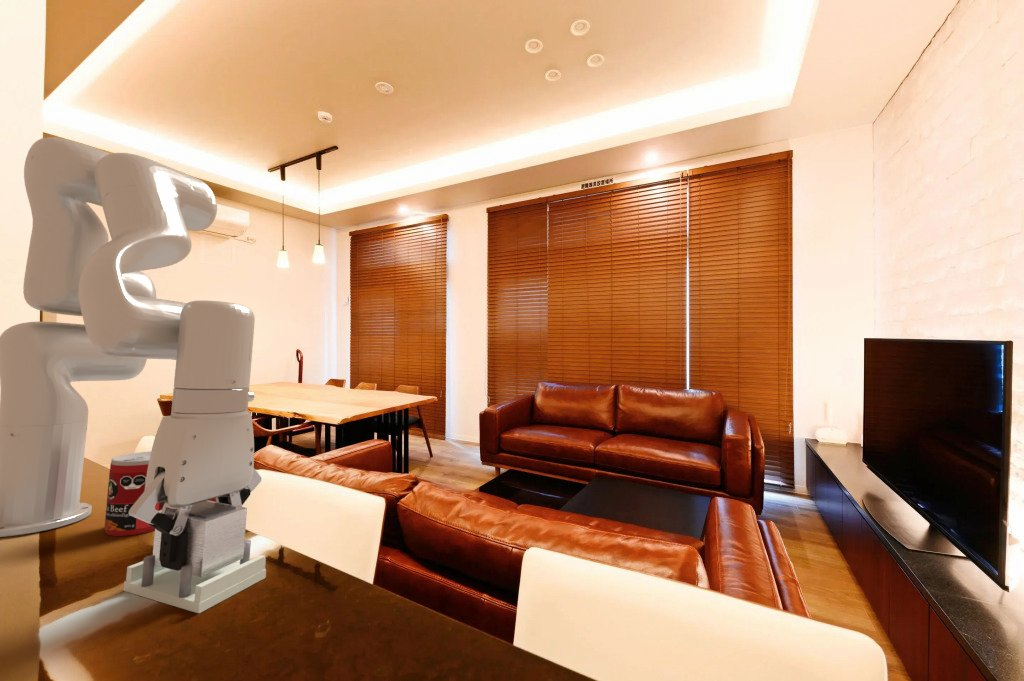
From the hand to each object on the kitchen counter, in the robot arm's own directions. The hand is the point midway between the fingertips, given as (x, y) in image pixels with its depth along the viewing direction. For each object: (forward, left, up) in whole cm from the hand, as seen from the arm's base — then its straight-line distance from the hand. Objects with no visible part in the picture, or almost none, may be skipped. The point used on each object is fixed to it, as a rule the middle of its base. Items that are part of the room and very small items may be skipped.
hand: (198, 555), depth 49 cm
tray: (0, 0, -3) cm, 3 cm away
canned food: (-25, +8, -4) cm, 26 cm away
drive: (0, 0, -1) cm, 1 cm away
